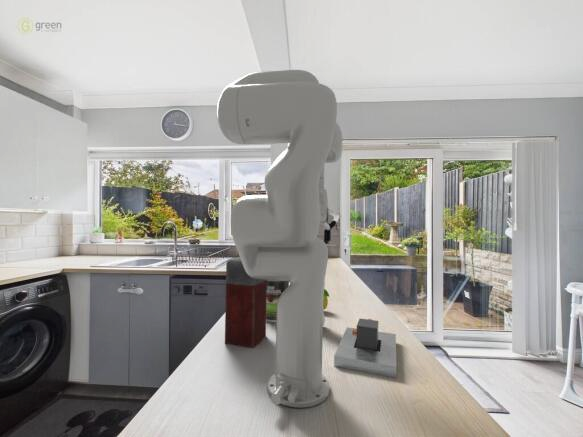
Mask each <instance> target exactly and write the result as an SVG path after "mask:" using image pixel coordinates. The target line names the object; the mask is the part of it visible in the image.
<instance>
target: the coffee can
mask: <svg viewBox="0 0 583 437" xmlns="http://www.w3.org/2000/svg"><path fill="white" fill-rule="evenodd" d="M289 285H290V282H288V281H283V280H267V295H266V323H267V322H268V323H277V302H278V299H279V297H280V296H281V294H282V293H283V292H284V291H285V290H286V288H287V287H288V286H289Z"/></svg>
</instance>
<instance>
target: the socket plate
mask: <svg viewBox="0 0 583 437" xmlns="http://www.w3.org/2000/svg"><path fill="white" fill-rule="evenodd" d="M396 336H397V334H396V333H390V332H383V331H378V351H372V350H365V349H359V348H356V344H357V327H356V328H355V327H346V328H345V330H344V333H343V335H342V337H341V340H340V342H339V344H338V346H337V349H336V351H335V353H334V355H333V366H334V367H335V368H336V367H337V368H341V369H348V370H351V371H358V372H363V373H369V374H375V375H379V376H385V377H390V378H397V337H396ZM379 350H380V351H379Z"/></svg>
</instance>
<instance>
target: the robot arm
mask: <svg viewBox="0 0 583 437" xmlns="http://www.w3.org/2000/svg"><path fill="white" fill-rule="evenodd" d="M217 102H218V103H217V108H216V115H217V122H218V126H219V128H220V130H221V133H222V134H223V136H224V137H225V138H226V139H227V140H228V141H230V142H232V143H234V144H238V145H265V144H266V145H269V144H271V145H272V144H287V148H285V150H284V151H283V152H282V153H281V154H279V156H278V157H276V159H275V160H274V162H273V163H272V165H271V166H270V167H269V168H268V169H267V170H268V171H267V172H266V174H265V177H264V188H265V193H266V194H251V195H249V194H248V195H245V196H242V197H240V198H238V200H237V201H236V202H234V205H233V206H232V209H231V213H230V230H231V235H232V239H233V241H234V245H235V248H236V250H237V254H238V255H239V258H240V259H241V261H242V264H243V267H244V269H245V271H246V273H247V274H248V275H249V276H250V277H252V278H254V279H262V280H283V281H288V282H289V286H288V287H287V288H286V290H285V291H284V292H283V293H282V294H281V296H280V297H279V299H278V302H277V322H275V323H276V327H275V328H276V334H275V336H276V337H275V340H276V341H275V343H276V344H275V373H274V374H273V375H272V376H271V377H270V378H269V380H268V382H267V391H268V394H269V396H270V401H271V403H272V404H273V405H275V406H279V405H283V406H285V407H291V408H297V409H299V408H311V407H314V406H318V405H319V404H321V403H323V402H324V401H326V400H327V398H328V397H329V394H330V383H329V381H328V379H327V378H326V376H324V375H323V335H324V334H323V333H324V331H323V330H324V325H323V293H324V289H325V287H324V282H325V281H326V273H327V266H328V263H329V262H328V259H329V250H328V245H327V244H329V243H330V241H331V237H332V235H331V234H332V232H331V230H333V228H334V227H335V226H336V225H337V224H338V222H339V220H340V218H341V214H339V213H337V212H335V211H333V210H332V209H329V201H328V194H327V193H328V192H327V189H325V164H330V163H331V164H332V163H336V162H338V161H339V160H340V159H341V156H342V152H343V133H342V129H341V127H340V125H339V124H338V123H337V114H338V112H337V111H338V106H337V104H338V103H337V98H336V94H335V92H334V91H333V89H332V88H330V86H327V85H326V84H322V83H320V81H319V80H318V79H317V77H316V76H315V75H314V74H313V73H311V72H309V71H307V70H303V69H287V70H286V69H285V70H284V69H283V70H274V71H273V70H270V71H256V72H253V73H249V74H247V75H245V76H243V77H241V78H238V79H237V80H235V81H234V82H232V83H230V84H229V85H227V86H226V87H225V88H224V89H223V90H222V92H221V94H220V95H219V99H218V101H217ZM329 215H330V216H332V217H333V219H332V221H331V222H330V223H329V219H330V218H329ZM320 224H321V225H322V226H323V227H324V233H323V239H321V238H319V237H318V236H319V231H320ZM325 283H326V282H325Z"/></svg>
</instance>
